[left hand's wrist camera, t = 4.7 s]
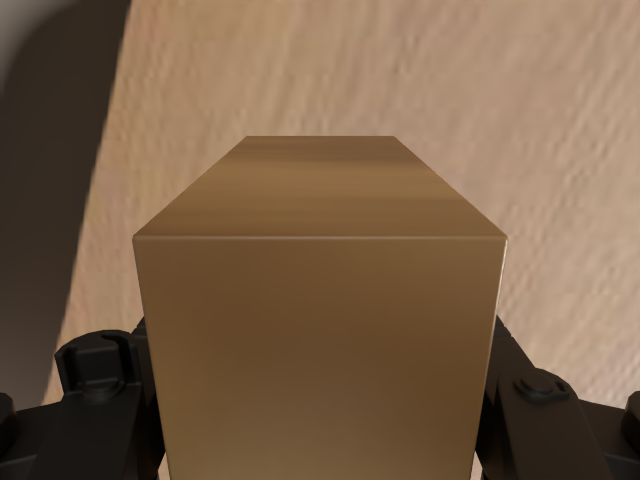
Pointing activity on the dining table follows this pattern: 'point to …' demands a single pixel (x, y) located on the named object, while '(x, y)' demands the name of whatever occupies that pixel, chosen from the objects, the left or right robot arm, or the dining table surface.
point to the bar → (320, 314)
